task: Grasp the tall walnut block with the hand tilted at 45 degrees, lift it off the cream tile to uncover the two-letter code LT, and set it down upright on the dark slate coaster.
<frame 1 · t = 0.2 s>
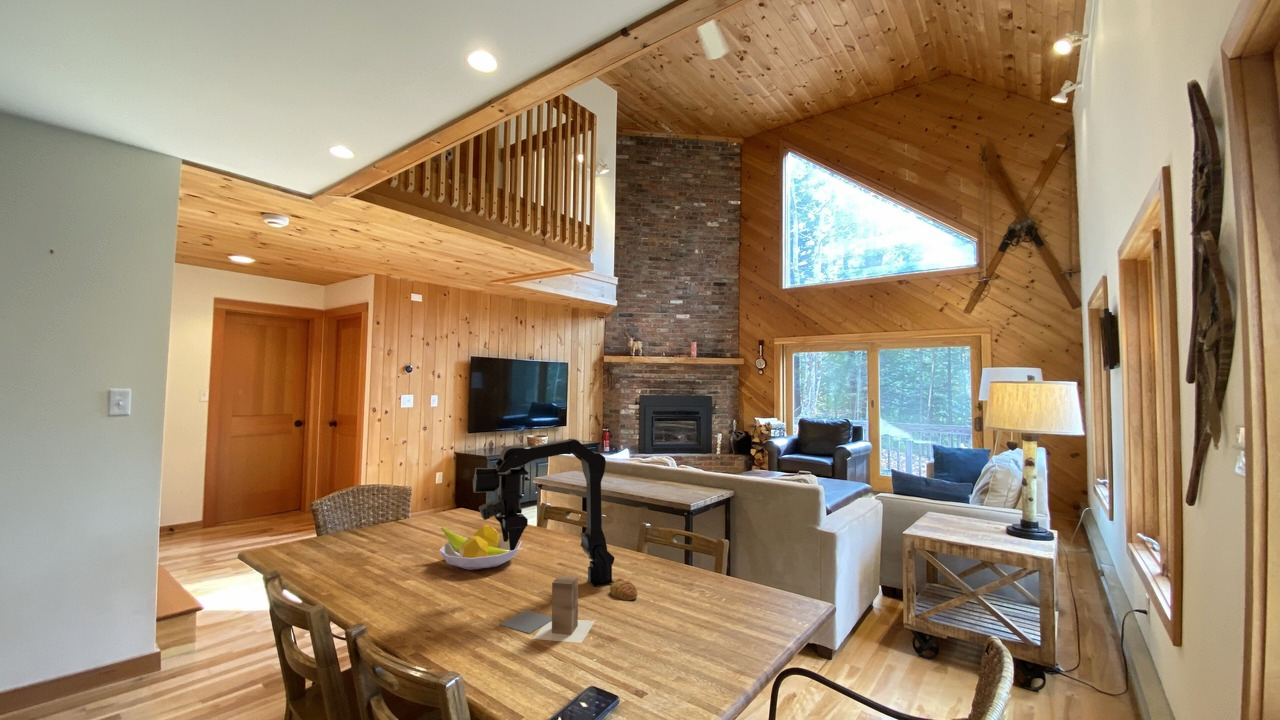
hand: (508, 545, 156), 14 cm above the table, tool pointing down, fingers open, 9 cm apart
slate coaster: (527, 623, 138), on the table
code tile: (565, 631, 134), on the table
pastry: (624, 596, 157), on the table
fruit bowl: (479, 563, 186), on the table
walnut block: (565, 629, 134), resting on code tile
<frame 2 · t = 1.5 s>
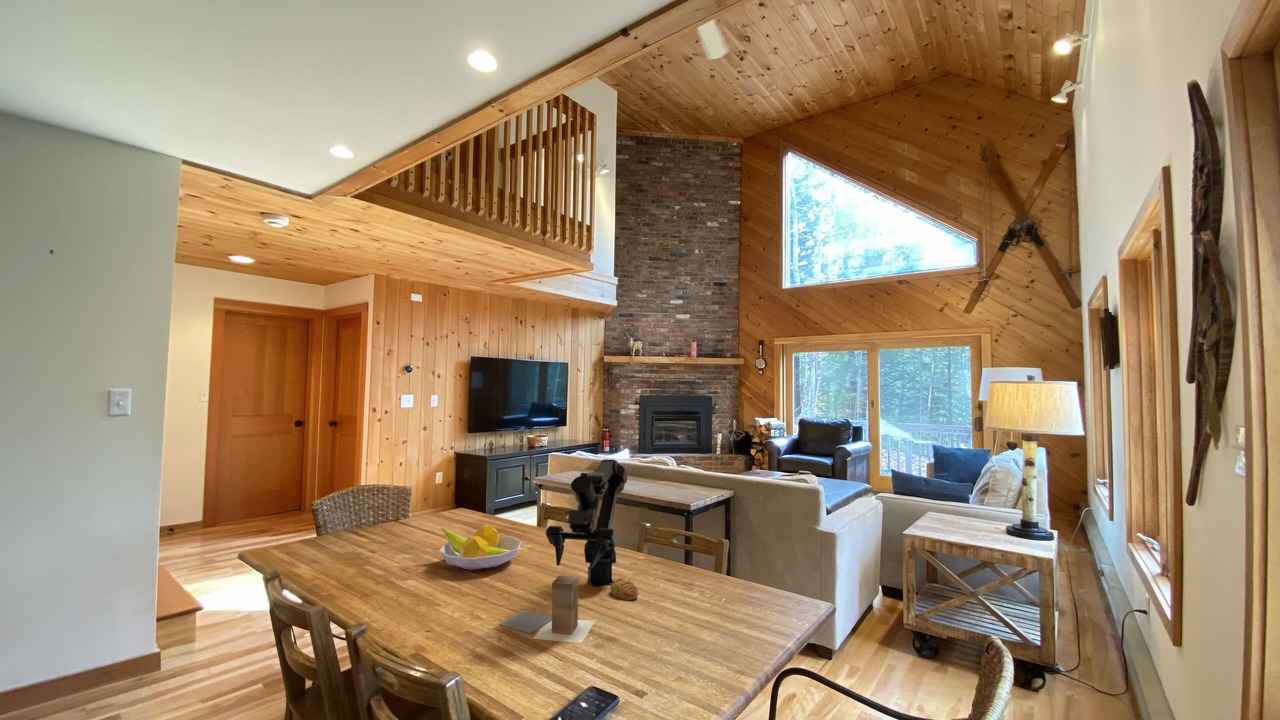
hand: (574, 566, 142), 13 cm above the table, tool tilted 45°, fingers open, 9 cm apart
nothing on the table moved.
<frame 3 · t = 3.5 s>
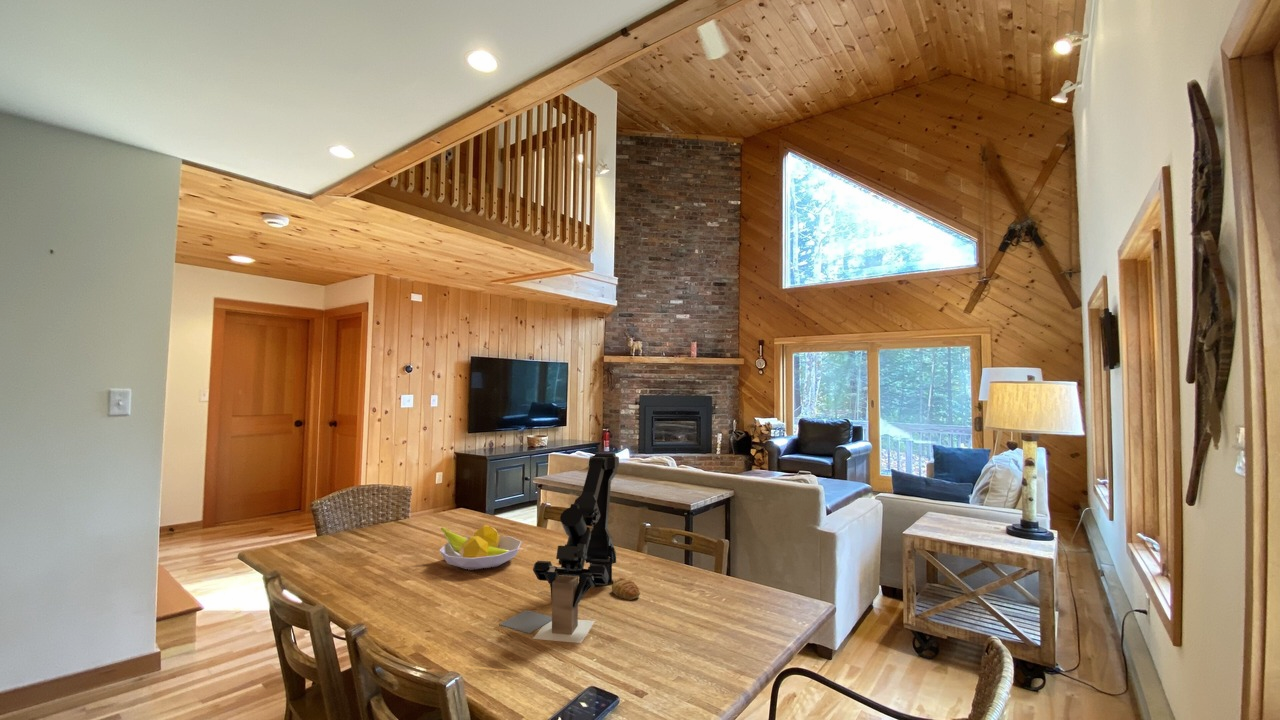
hand: (563, 606, 133), 7 cm above the table, tool tilted 45°, fingers closed on walnut block, 5 cm apart
walnut block: (565, 629, 134), resting on code tile, touching gripper
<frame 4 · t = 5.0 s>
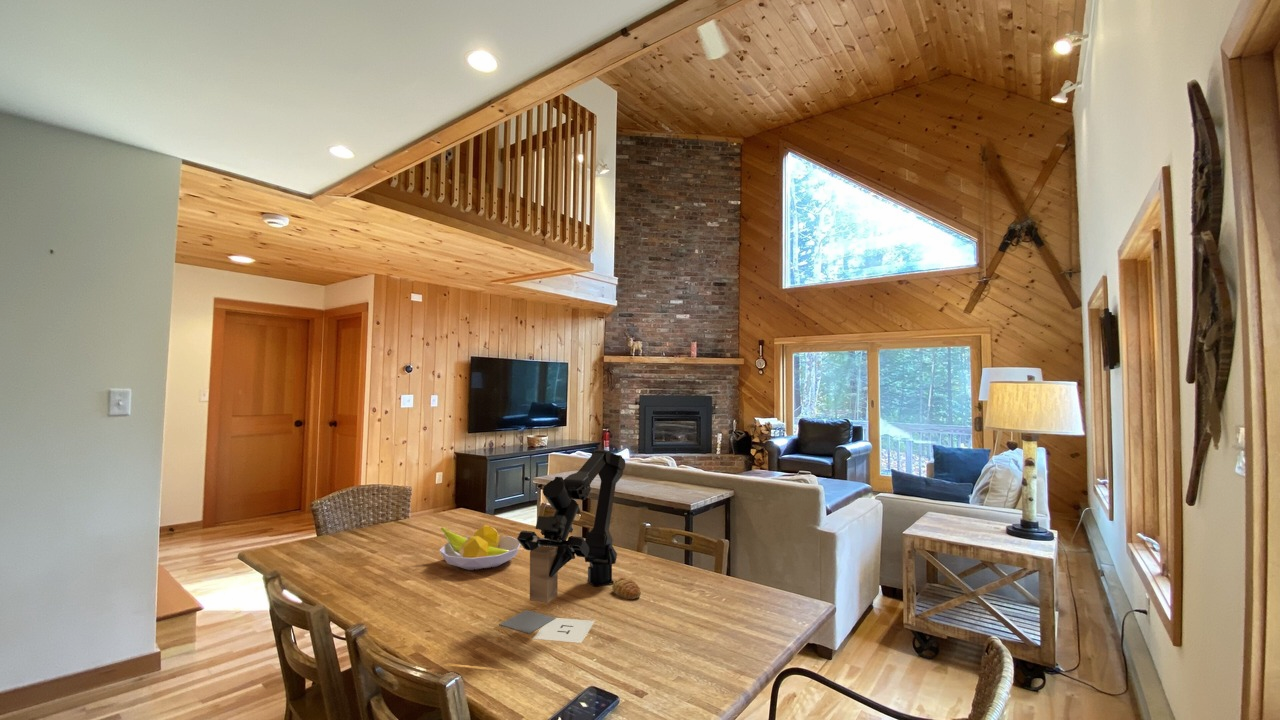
hand: (540, 574, 135), 13 cm above the table, tool tilted 45°, fingers closed on walnut block, 5 cm apart
walnut block: (543, 598, 136), point 7 cm above the table, touching gripper
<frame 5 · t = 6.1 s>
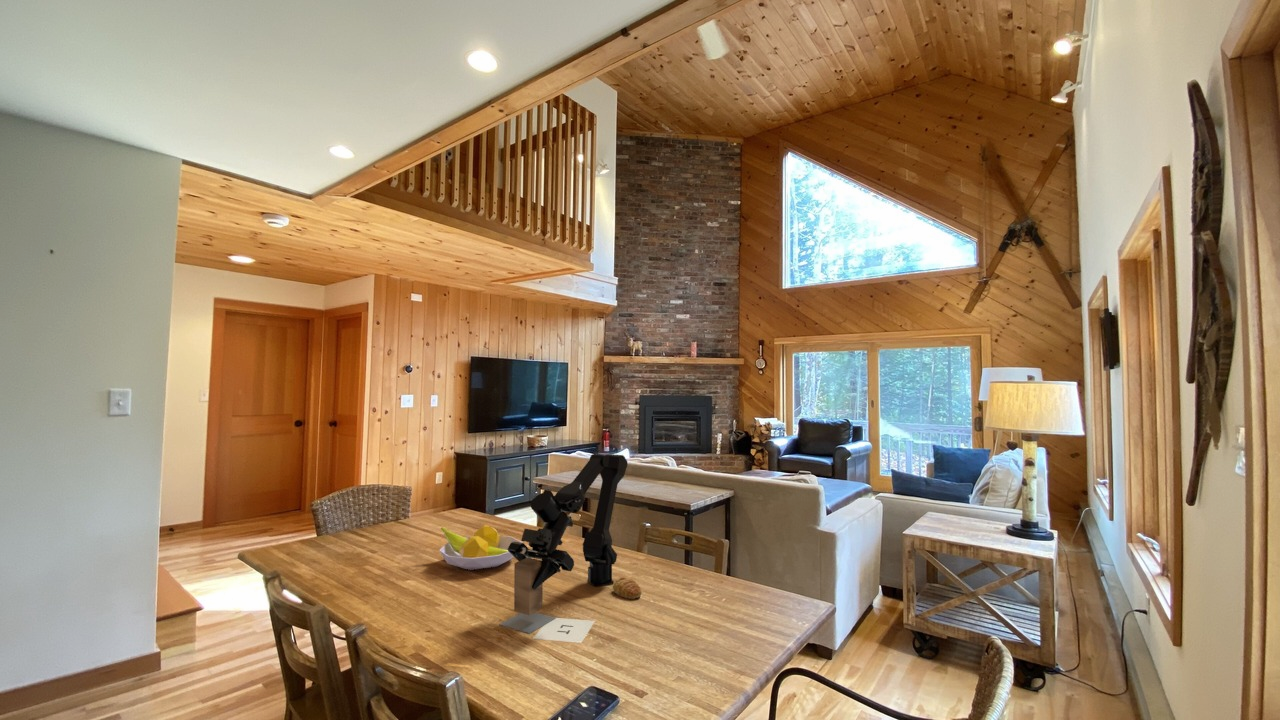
hand: (524, 586, 138), 10 cm above the table, tool tilted 45°, fingers closed on walnut block, 5 cm apart
walnut block: (528, 609, 138), point 3 cm above the table, touching gripper
when the fingers open (8 cm above the table, at t = 6.8 s): walnut block drops 1 cm, resting on slate coaster.
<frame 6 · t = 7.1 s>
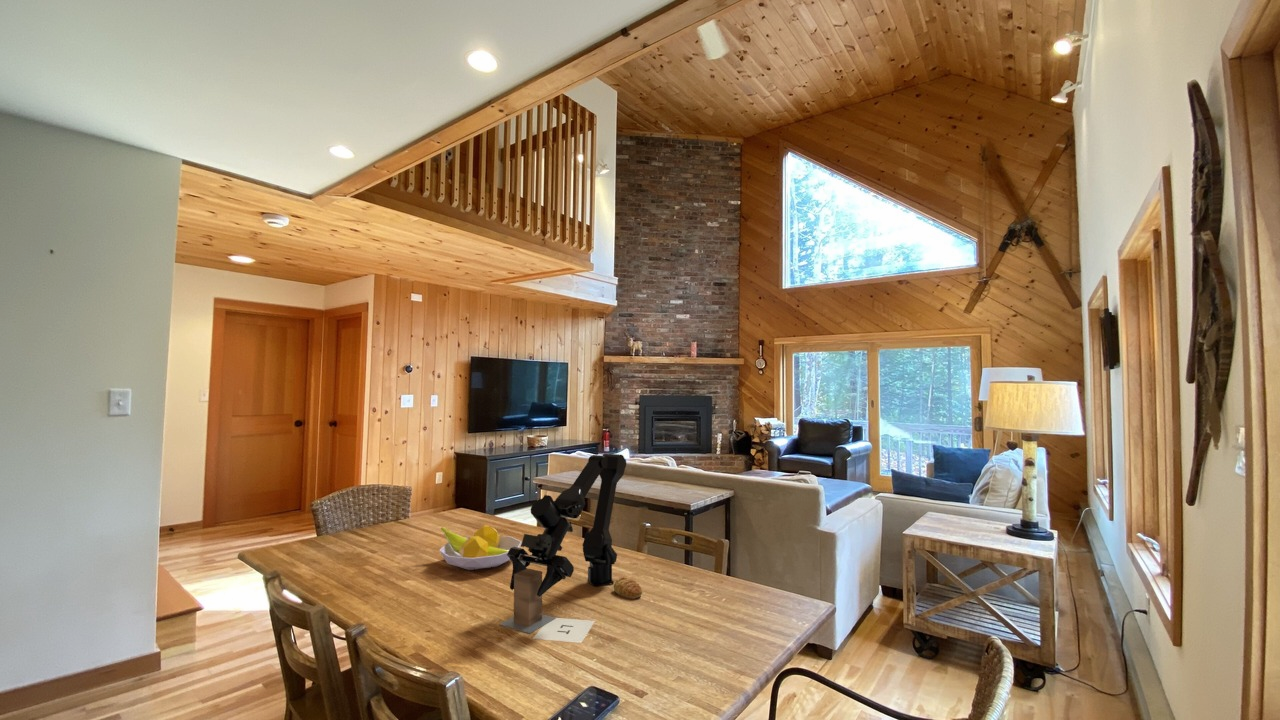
hand: (524, 592, 137), 8 cm above the table, tool tilted 45°, fingers open, 9 cm apart
walnut block: (527, 620, 138), point 1 cm above the table, touching slate coaster
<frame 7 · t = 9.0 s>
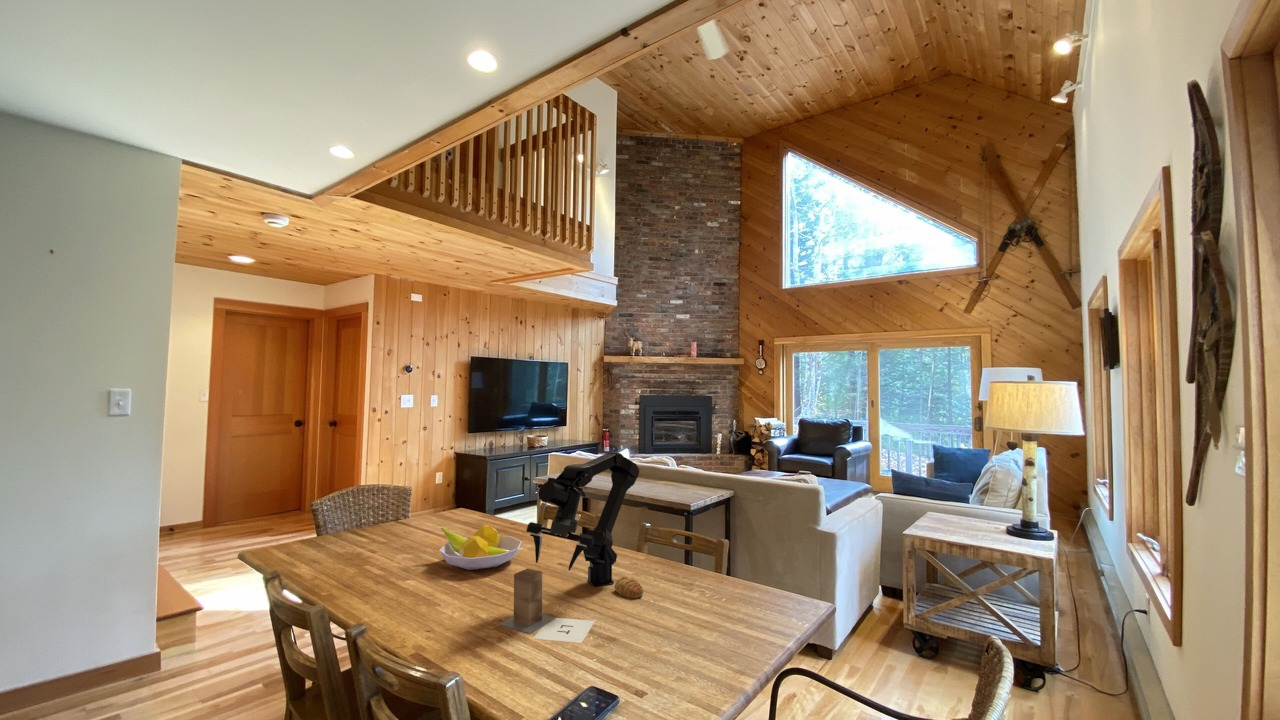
hand: (552, 566, 150), 10 cm above the table, tool tilted 20°, fingers open, 9 cm apart
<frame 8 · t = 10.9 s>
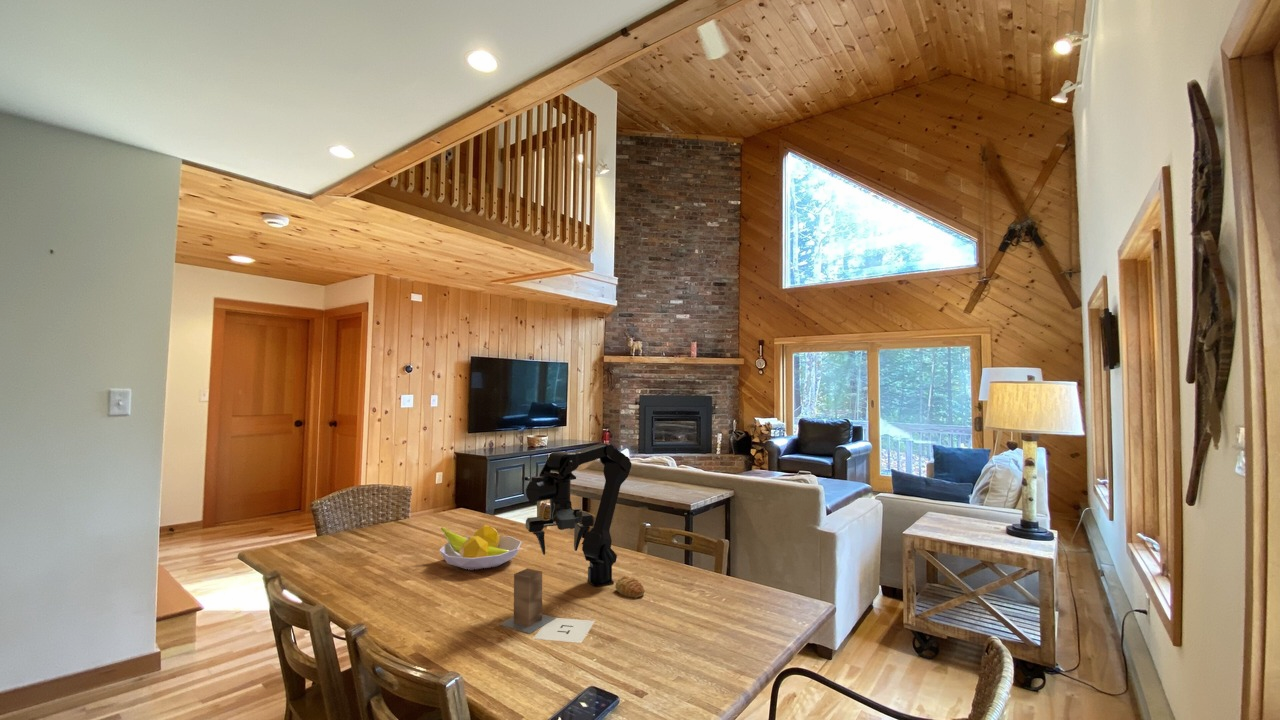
hand: (559, 552, 154), 13 cm above the table, tool pointing down, fingers open, 9 cm apart
at the end: walnut block 0.0 cm from the slate coaster (horizontally); walnut block tilted 0°; walnut block touching slate coaster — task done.
